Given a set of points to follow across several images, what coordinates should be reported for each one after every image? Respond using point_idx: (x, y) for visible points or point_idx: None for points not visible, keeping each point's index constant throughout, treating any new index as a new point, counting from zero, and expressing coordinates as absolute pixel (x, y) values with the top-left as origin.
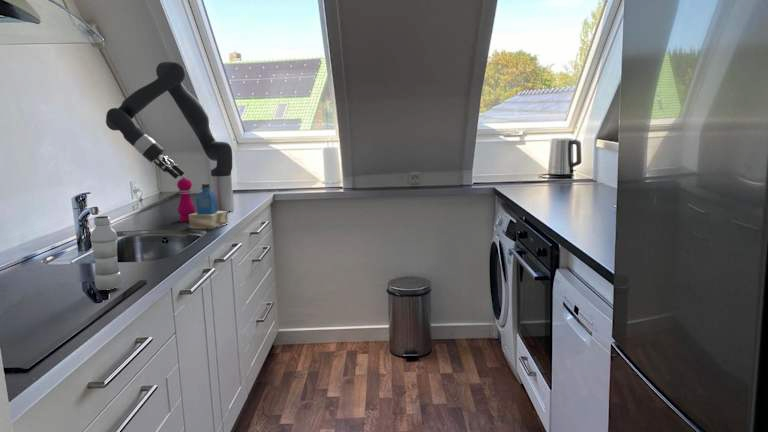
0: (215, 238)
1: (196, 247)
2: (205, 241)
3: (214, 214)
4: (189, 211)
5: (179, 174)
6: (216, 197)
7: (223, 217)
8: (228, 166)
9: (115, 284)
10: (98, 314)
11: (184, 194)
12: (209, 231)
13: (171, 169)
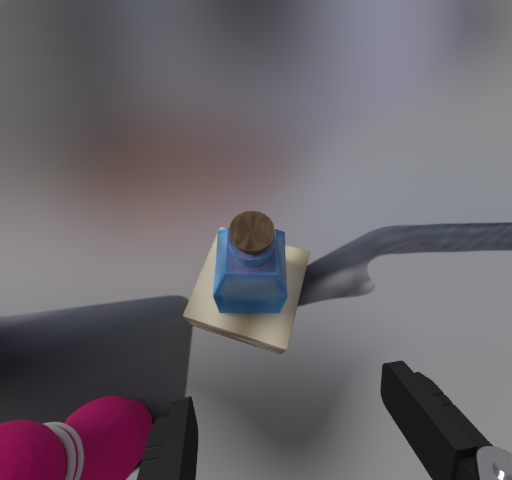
0: (406, 225)
1: (506, 238)
2: (443, 238)
3: None
4: (137, 410)
5: (195, 449)
6: (218, 231)
7: None
8: None
9: None
10: None
11: (81, 456)
12: (327, 268)
13: (473, 451)
